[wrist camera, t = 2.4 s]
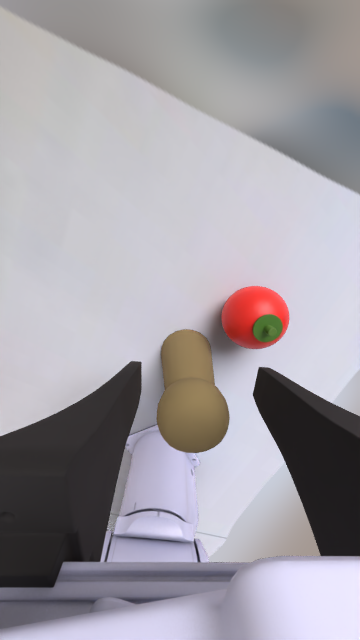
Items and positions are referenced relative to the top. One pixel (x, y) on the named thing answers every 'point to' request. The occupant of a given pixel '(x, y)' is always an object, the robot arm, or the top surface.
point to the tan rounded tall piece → (190, 395)
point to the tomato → (255, 317)
